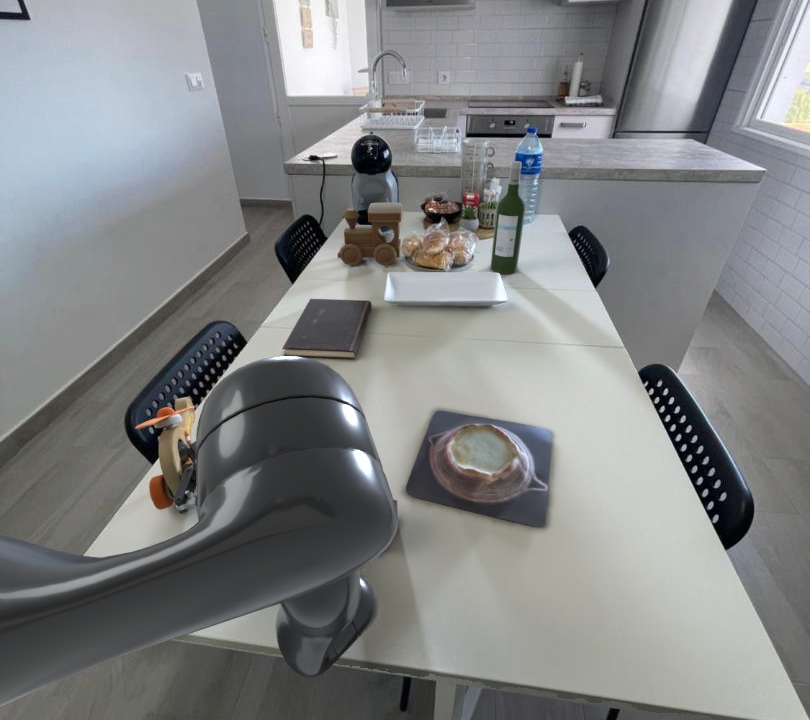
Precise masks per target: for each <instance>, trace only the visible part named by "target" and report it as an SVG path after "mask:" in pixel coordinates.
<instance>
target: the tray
mask: <svg viewBox="0 0 810 720" xmlns="http://www.w3.org/2000/svg"><path fill="white" fill-rule="evenodd" d="M385 279H386V280H385V285H384V286H385V287H384V292H383V302H385V303H387V304H393V305H396V306H397V307H398V306H399V307H492V306H496V305H501V304H506V303H507V302H508V299H509V298H508V296H507V295H508V294H507V293H506V290H505V286H504V283H503V279H502V276H501V274H500V273H496V272H494V271H432V272H431V271H389V272H388V273H387V274H386V278H385Z"/></svg>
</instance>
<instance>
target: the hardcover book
mask: <svg viewBox="0 0 810 720" xmlns="http://www.w3.org/2000/svg"><path fill="white" fill-rule="evenodd" d="M372 305H373V304H372V302H371V300H368V299H367V300H364V299H332V298H331V299H330V298H309V301H308V302H307V303H306V305H305V307H304V309H303V311H302V313H301V314H300V316H299V318H298V319H297V321H296V323H295V325H294V327H293V328H292V330H291V332H290V334H289V335H288V337H287V339H286V341H285V342H284V345H283V346H282V350H284V354H283V356H292V357H303V358H308V359H312V358H313V359H334V360H335V359H336V360H354V359H356V356H357V353H358V351H359V348H360V344H361V341H362V338H363V335H364V331H365V328H366V326H367V322H368V320H369V316H370V313H371V310H372Z"/></svg>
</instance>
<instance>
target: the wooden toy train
mask: <svg viewBox="0 0 810 720" xmlns="http://www.w3.org/2000/svg"><path fill="white" fill-rule="evenodd" d="M403 216H404V208H403V203H402V202H389V201H387V202H385V201H384V202H371V203H370V204H369V206H368V209H367V218H368V219H367V220H368V222H367V223H371V225H370V224H357V223H358V220H359V217H360V214H359V212H358V211H357V210H356V209H355V208H354V207H349V208H347V209H346V210H345V212H344V214H343V218H344V220H345V222H346V224H347V225H345V228H344V231H343V239H344V240H343V243H342V244H340V247H339V249H338V251H337V258H338V259H340V260H341V261H342V263H344V264H345V265H346V266H351V267H353V266H357V265H359V264H360V263H362V260H363V259H374V260H375V262H376V263H377V264H378V265H380V266H383V267H386V266H391V265H392V264H394V263H395V262H396V260H397V259H399V258H400V257H401V251H402V250H401V249H402V244H401V243H402V241H401V238H400V235H401V223H402V220H403ZM382 227H388V228H390V229H391V230H392V232H391V233H387V232H386V233H384V232H383V231H382V230H381V228H382Z"/></svg>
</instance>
